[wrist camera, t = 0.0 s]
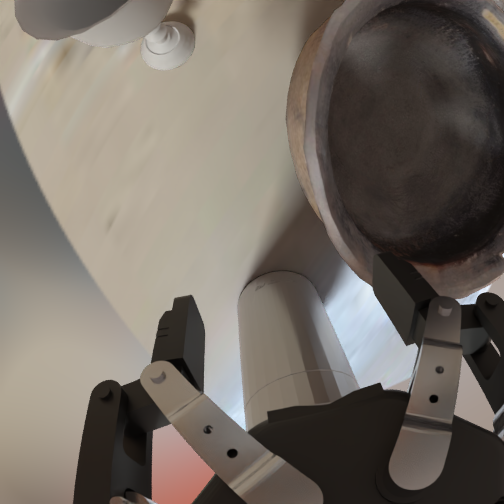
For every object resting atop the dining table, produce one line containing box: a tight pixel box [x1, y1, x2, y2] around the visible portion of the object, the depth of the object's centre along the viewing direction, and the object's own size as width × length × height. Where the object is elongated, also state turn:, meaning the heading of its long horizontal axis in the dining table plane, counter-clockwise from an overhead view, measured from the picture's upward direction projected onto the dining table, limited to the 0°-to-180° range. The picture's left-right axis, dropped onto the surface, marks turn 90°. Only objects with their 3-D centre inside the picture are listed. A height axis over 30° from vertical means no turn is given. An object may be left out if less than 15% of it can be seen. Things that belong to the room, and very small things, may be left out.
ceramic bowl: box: [286, 0, 504, 299], centre depth 19 cm, size 22×22×15 cm
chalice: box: [15, 0, 195, 70], centre depth 14 cm, size 7×7×18 cm
